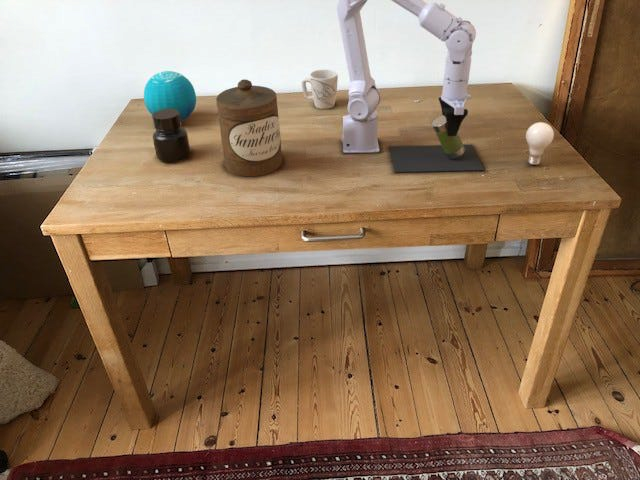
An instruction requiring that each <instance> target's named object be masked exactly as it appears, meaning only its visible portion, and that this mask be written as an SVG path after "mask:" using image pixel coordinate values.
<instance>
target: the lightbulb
mask: <svg viewBox="0 0 640 480" xmlns="http://www.w3.org/2000/svg"><path fill="white" fill-rule="evenodd" d="M554 137H555V132H554V128H553V127H552V126H551V125H550V124H548V123H546V122H543V121H538V122H534V123H533V124H531V125H530V126H529V127H528V128H527V130H526V133H525V140H526V143H527V145H528V151H529V155H528V160H527V162H528V164H530V165H532V166H535V165H540V163H541V157H542V155H543V154H544V151H545V149H547V148H548V147H549V146H550V145H551V144H552V142H553V140H554Z"/></svg>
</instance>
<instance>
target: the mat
mask: <svg viewBox="0 0 640 480" xmlns="http://www.w3.org/2000/svg"><path fill="white" fill-rule="evenodd" d="M463 146H464V148H465V152H464V153H463V154H462V155H461V156H459V157H457V158H455V159H449V158H447V156H446V154H445V152H444V150H443V147H442V145H441V144H439V145H438V144H437V145H404V146H403V145H398V146H397V145H395V146H392V145H391V146H389V152H390V155H391V156H390V157H391V160H392V166H393V170H394V174H411V173H412V174H413V173H415V174H417V173H458V172H459V173H460V172H461V173H463V172H485V168H484V166H483V164H482V163H481V160H480V158H479V156H478V154H477V152H476V150H475V148H474V146H473V144H463Z"/></svg>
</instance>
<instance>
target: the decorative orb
mask: <svg viewBox="0 0 640 480" xmlns="http://www.w3.org/2000/svg"><path fill="white" fill-rule="evenodd" d="M143 101H144V105H145V107H146V109H147V111H148V112H149V114H150V115H151V116H152V115H153V113H155V112H156V111H159V110H163V109H175V110H178V111H179V114H180V119H181V123H182V122H184V121H185V120H187V119H188V118H190V116H191V115H192V114H193V112H194V110H195V108H196V105H197V95H196V91H195V88H194V85H193V83H192V82H191V81H190V80H189V78H187V77H186V76H184V75H183V74H181V73H179V72H177V71H172V70H163V71H160V72H157V73H155V74H153V75H152V76H151V77H150V79H148V80H147V82H146V84H145V86H144V90H143Z"/></svg>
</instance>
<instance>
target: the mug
mask: <svg viewBox="0 0 640 480" xmlns="http://www.w3.org/2000/svg"><path fill="white" fill-rule="evenodd" d="M338 77H339V75H338V72H337V71H336V70H333V69H318V70H313V71H312V72H310V74H309V77H305V78H303V80H302V81H301V88H302V92H303V96H304V98H305V99H306V100H308V101H313V104H314V106H315V108H317V109H320V110H326V109H327V110H328V109H331V108H333V107H334V106H335V104H336V99H337V91H338V81H339V80H338ZM307 83H309V84H310V90H311V94H312V95H309V93H308V89H307V88H308V87H307Z"/></svg>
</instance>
